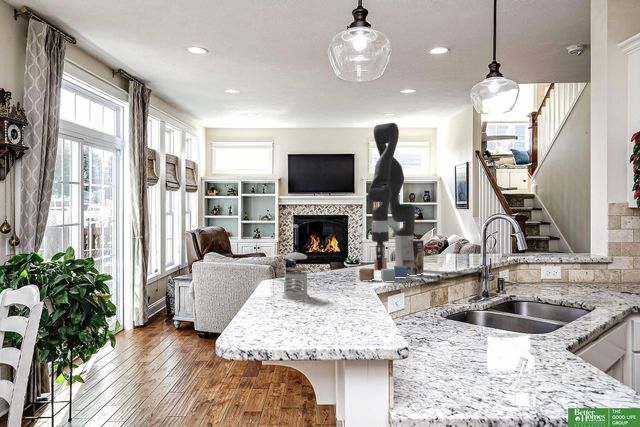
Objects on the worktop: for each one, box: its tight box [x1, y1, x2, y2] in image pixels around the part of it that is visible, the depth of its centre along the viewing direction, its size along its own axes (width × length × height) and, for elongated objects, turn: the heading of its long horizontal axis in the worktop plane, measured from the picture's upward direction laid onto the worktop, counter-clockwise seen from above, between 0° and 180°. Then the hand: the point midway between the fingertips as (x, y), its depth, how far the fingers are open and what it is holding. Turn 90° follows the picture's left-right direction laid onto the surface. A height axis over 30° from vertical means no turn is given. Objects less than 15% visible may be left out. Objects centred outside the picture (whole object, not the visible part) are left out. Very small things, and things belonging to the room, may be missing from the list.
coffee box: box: [403, 239, 425, 275], centre depth 206 cm, size 9×6×16 cm
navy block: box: [393, 265, 408, 278], centre depth 199 cm, size 5×5×5 cm
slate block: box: [380, 268, 396, 282], centre depth 189 cm, size 5×5×5 cm
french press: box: [276, 223, 311, 300], centre depth 155 cm, size 10×12×25 cm
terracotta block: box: [373, 257, 388, 272], centre depth 201 cm, size 5×5×5 cm
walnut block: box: [358, 267, 375, 281], centre depth 191 cm, size 5×5×5 cm
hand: (380, 268), depth 201 cm, fingers closed on terracotta block, 5 cm apart
